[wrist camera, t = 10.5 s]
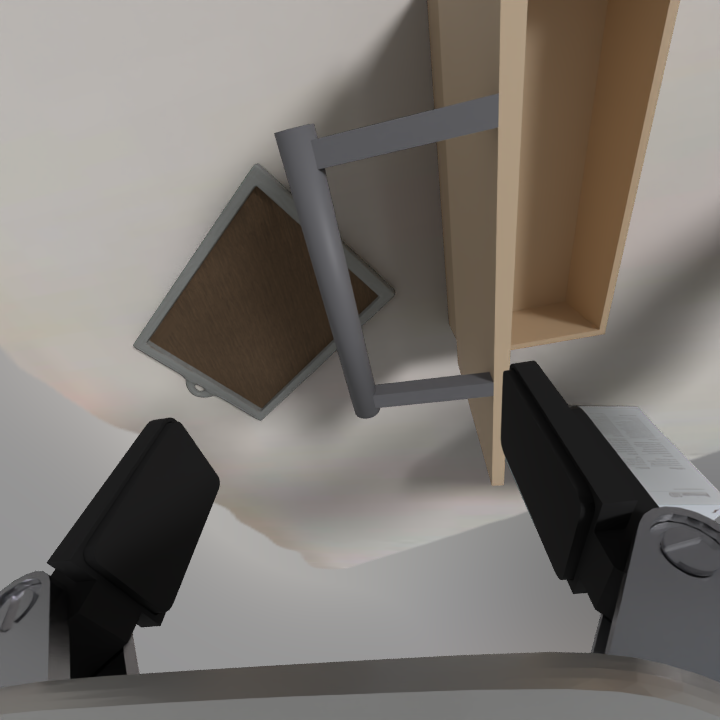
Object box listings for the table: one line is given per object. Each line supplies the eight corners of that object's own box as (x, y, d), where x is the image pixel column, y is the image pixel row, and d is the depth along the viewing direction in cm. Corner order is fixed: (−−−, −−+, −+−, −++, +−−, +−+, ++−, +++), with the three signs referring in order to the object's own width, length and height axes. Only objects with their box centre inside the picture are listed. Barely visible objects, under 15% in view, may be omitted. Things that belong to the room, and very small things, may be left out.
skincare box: (489, 430, 53) (533, 529, 40) (498, 404, 50) (548, 502, 37) (622, 431, 54) (709, 530, 40) (639, 405, 51) (738, 503, 37)
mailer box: (621, -76, 24) (713, -147, 18) (566, 302, 41) (604, 334, 35) (425, -19, 26) (448, -66, 20) (449, 323, 42) (465, 357, 36)
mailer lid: (554, -450, 7) (155, -249, 8) (504, 488, 24) (376, 496, 25) (448, -81, 19) (296, -29, 21) (465, 362, 36) (381, 372, 38)
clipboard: (396, 294, 39) (250, 431, 51) (395, 289, 40) (253, 423, 53) (254, 162, 32) (123, 359, 44) (258, 161, 33) (129, 352, 45)
